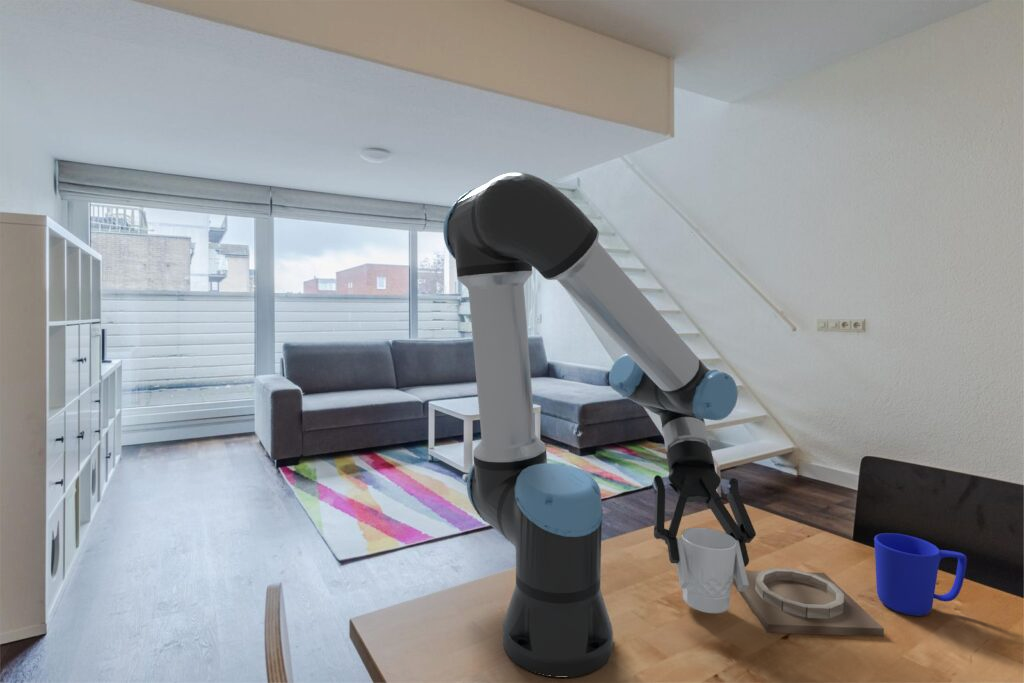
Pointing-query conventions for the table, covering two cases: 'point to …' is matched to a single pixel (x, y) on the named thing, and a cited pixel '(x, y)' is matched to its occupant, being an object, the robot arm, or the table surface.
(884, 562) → the mug
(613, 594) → the table surface
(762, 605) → the brown flat ringed piece
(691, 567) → the white cup
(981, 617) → the table surface
